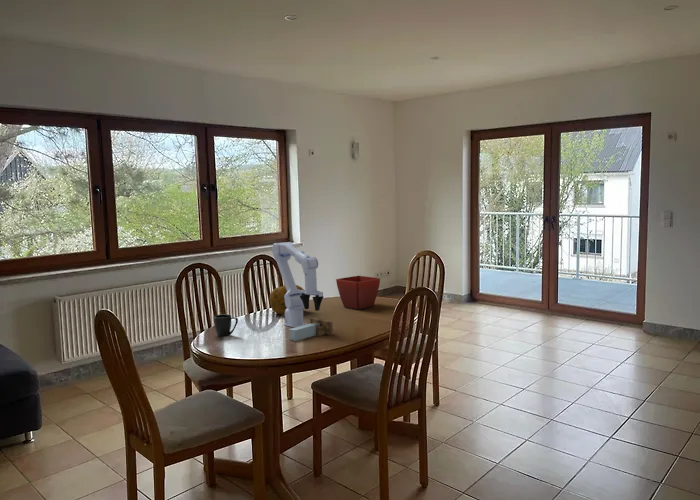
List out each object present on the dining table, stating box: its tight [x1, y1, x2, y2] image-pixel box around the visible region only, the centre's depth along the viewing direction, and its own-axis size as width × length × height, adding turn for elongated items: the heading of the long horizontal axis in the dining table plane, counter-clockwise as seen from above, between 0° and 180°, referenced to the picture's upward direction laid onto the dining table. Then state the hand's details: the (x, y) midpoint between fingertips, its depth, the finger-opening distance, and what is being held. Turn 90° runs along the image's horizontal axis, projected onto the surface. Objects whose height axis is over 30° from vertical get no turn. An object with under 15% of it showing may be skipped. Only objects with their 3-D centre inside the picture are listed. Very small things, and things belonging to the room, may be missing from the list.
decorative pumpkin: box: [269, 280, 305, 316], centre depth 307 cm, size 20×21×20 cm
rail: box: [288, 322, 320, 342], centre depth 256 cm, size 16×4×5 cm, turn 137°
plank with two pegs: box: [309, 317, 334, 337], centre depth 261 cm, size 14×6×6 cm, turn 47°
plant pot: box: [335, 275, 381, 310], centre depth 319 cm, size 19×19×17 cm
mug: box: [213, 313, 239, 338], centre depth 261 cm, size 8×12×10 cm
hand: (312, 309), depth 266 cm, fingers open, 7 cm apart
